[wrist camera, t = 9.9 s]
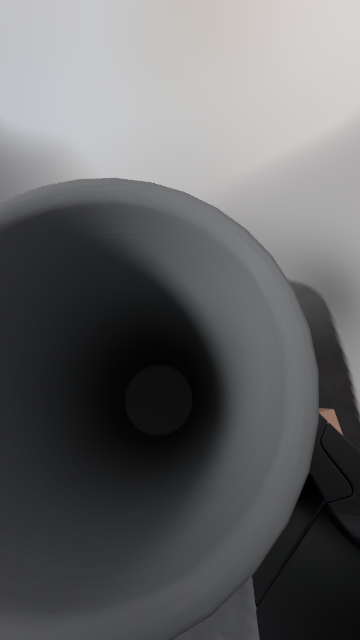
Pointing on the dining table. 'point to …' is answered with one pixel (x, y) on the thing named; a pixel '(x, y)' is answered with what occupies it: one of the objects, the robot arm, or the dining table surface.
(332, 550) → the robot arm
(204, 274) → the cup
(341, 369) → the dining table surface
